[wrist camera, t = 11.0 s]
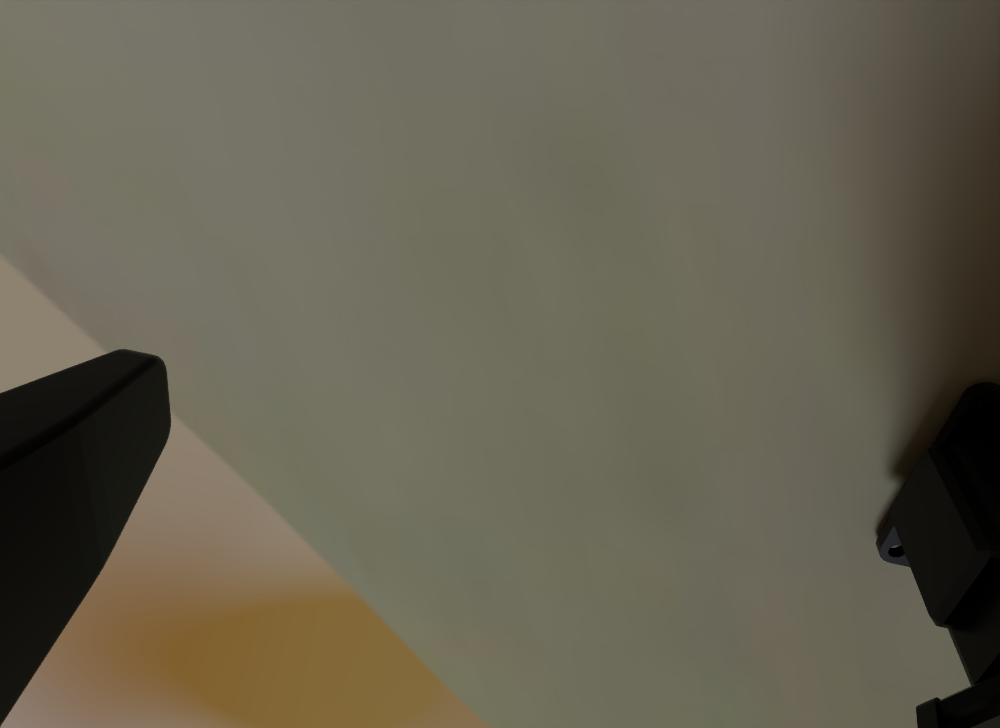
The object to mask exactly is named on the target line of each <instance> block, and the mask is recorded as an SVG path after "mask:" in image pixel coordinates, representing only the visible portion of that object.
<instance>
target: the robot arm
mask: <svg viewBox="0 0 1000 728" xmlns="http://www.w3.org/2000/svg"><path fill="white" fill-rule="evenodd" d="M985 399H991V401H990V402H989V403H988V404H985V405H983V406H977V405H978V404H979V403H980V402H981V401H982V400H985ZM170 427H171V414H170V403H169V391H168V380H167V371H166V366H165V364H164V361H163V360H162V359H161V358H159V357H158V356H156V355H151V354H147V353H142V352H137V351H132V350H127V349H119V350H116V351H113V352H110V353H108V354H105V355H102V356H100V357H97V358H94V359H92V360H89V361H86V362H84V363H81V364H78V365H75V366H73V367H70V368H67V369H64V370H62V371H59V372H57V373H54V374H51V375H48V376H46V377H43V378H40V379H38V380H35V381H32V382H29V383H27V384H24V385H21V386H19V387H16V388H14V389H11V390H8V391H5V392H2V393H0V726H1V724H2V723H3V722H4V720H5V718H6V717H7V715H8V714H9V712H10V711H11V709H12V708H13V706H14V705H15V703H16V702H17V700H18V699H19V697H20V695H21V694H22V692H23V691H24V689H25V688H26V686H27V685H28V683H29V682H30V680H31V679H32V677H33V676H34V674H35V673H36V671H37V669H38V668H39V666H40V665H41V663H42V662H43V660H44V659H45V657H46V656H47V654H48V653H49V651H50V650H51V648H52V646H53V645H54V643H55V642H56V640H57V639H58V637H59V636H60V634H61V633H62V631H63V630H64V628H65V627H66V625H67V624H68V622H69V620H70V619H71V617H72V616H73V614H74V613H75V611H76V610H77V608H78V607H79V605H80V604H81V602H82V601H83V599H84V598H85V596H86V594H87V593H88V591H89V590H90V588H91V587H92V585H93V583H94V582H95V580H96V578H97V577H98V575H99V574H100V572H101V570H102V569H103V567H104V565H105V563H106V561H107V559H108V558H109V556H110V554H111V552H112V550H113V548H114V547H115V544H116V543H117V540H118V539H119V537H120V535H121V532H122V531H123V529H124V526H125V524H126V523H127V521H128V519H129V517H130V515H131V512H132V510H133V509H134V507H135V505H136V503H137V500H138V499H139V497H140V495H141V492H142V491H143V489H144V487H145V485H146V483H147V481H148V479H149V477H150V475H151V473H152V471H153V469H154V467H155V465H156V462H157V461H158V459H159V457H160V455H161V453H162V451H163V449H164V447H165V445H166V442H167V439H168V436H169V433H170ZM876 545H877V549H878V551H879V554H880V557H881V558H882V559H883V560H884V561H887V562H889V563H893V564H898V565H903V566H908V567H911V570H912V573H913V575H914V578H915V580H916V583H917V585H918V588H919V590H920V593H921V595H922V598H923V600H924V603H925V606H926V608H927V611H928V613H929V616H930V617H931V619H932V620H933V622H934V623H935V625H936V626H939V627H944V628H948V630H949V633H950V635H951V638H952V640H953V642H954V645H955V647H956V650H957V652H958V655H959V657H960V659H961V662H962V664H963V667H964V669H965V672H966V674H967V677H968V679H969V681H970V684H971V686H970V687H968V688H966V689H964V690H962V691H959V692H957V693H955V694H953V695H951V696H948V697H946V698H944V699H942V700H940V699H939V698H937V697H936V698H934V699H931V700H929V701H927V702H925V703H923V704H921V705H918V706H916V714H917V725H918V728H1000V385H999V384H994V383H984V382H983V383H979V384H975V385H973V386H972V387H970V388H968V389H967V390H966V391H965V392H964V394H963V395H962V397H961V398H960V400H959V402H958V403H957V405H956V407H955V408H954V410H953V412H952V414H951V415H950V417H949V419H948V420H947V422H946V424H945V425H944V427H943V429H942V430H941V432H940V434H939V435H938V437H937V439H936V440H935V442H934V444H933V445H932V446H931V447H930V448H928V449H927V450H926V451H925V452H924V454H923V455H922V457H921V459H920V460H919V462H918V464H917V465H916V467H915V469H914V470H913V472H912V474H911V476H910V477H909V479H908V481H907V482H906V484H905V486H904V487H903V489H902V491H901V492H900V494H899V496H898V498H897V499H896V501H895V503H894V504H893V506H892V508H891V509H890V518H889V519H888V521H887V523H886V524H885V526H884V528H883V529H882V531H881V533H880V534H879V536H878V538H877V541H876ZM895 545H900V546H898V547H895V548H891V547H893V546H895Z"/></svg>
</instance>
